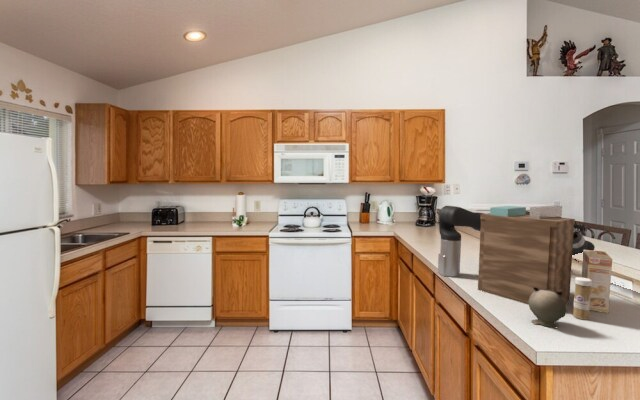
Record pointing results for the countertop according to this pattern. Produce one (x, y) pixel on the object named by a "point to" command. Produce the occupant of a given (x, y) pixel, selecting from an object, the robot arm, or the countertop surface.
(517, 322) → the countertop surface
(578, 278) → the sprinkles bottle
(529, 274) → the walnut shelf
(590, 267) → the coffeecake box
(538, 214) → the metal bar
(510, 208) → the teal base block
